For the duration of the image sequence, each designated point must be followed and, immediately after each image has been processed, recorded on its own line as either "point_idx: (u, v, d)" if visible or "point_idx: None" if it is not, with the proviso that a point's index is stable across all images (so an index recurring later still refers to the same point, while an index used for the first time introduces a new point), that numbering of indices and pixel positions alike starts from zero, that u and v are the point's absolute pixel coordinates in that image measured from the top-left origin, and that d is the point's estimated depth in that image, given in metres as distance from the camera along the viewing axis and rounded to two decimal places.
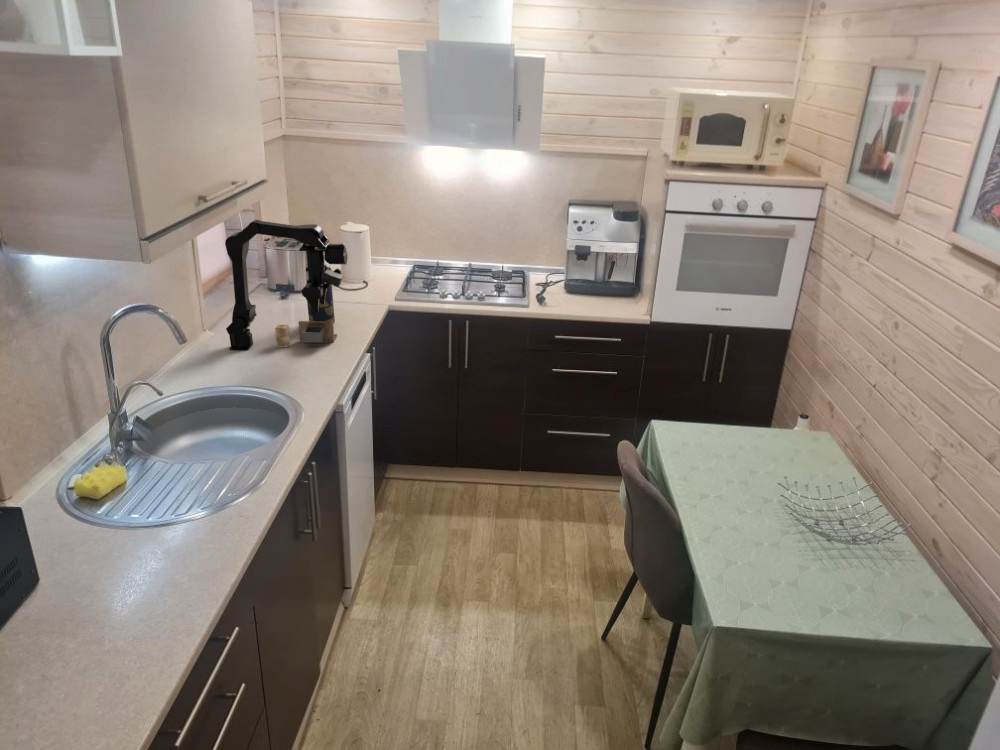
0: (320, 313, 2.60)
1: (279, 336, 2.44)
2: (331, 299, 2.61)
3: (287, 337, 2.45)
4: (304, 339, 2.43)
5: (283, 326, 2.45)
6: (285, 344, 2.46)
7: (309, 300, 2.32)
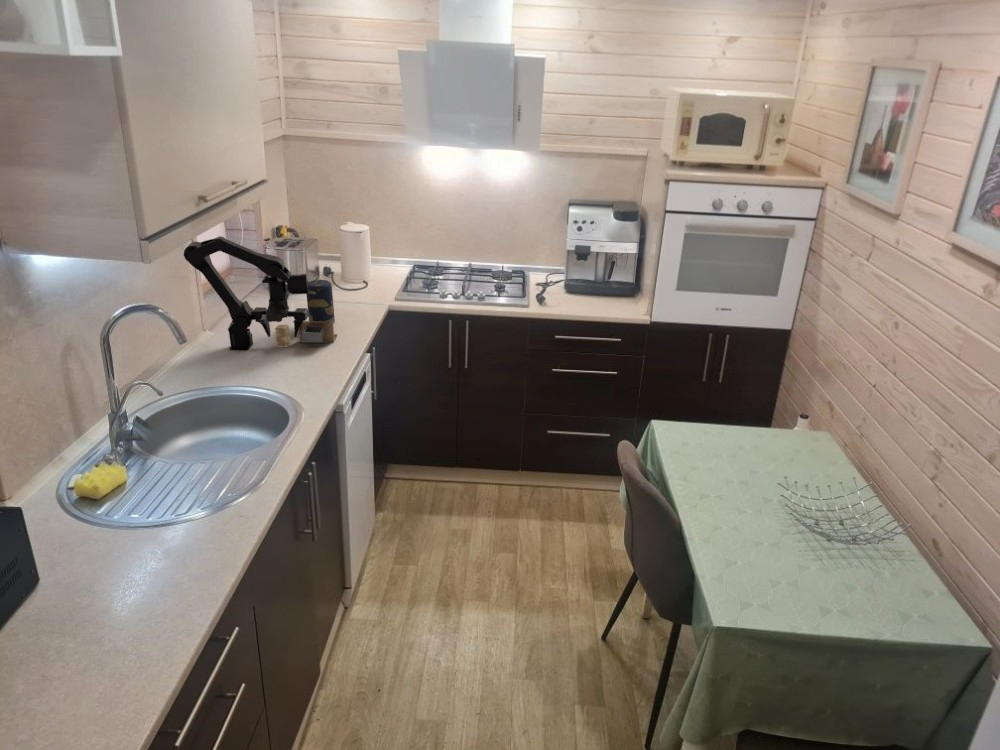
0: (320, 313, 2.60)
1: (279, 336, 2.44)
2: (331, 299, 2.61)
3: (287, 337, 2.45)
4: (304, 339, 2.43)
5: (283, 326, 2.45)
6: (285, 344, 2.46)
7: None
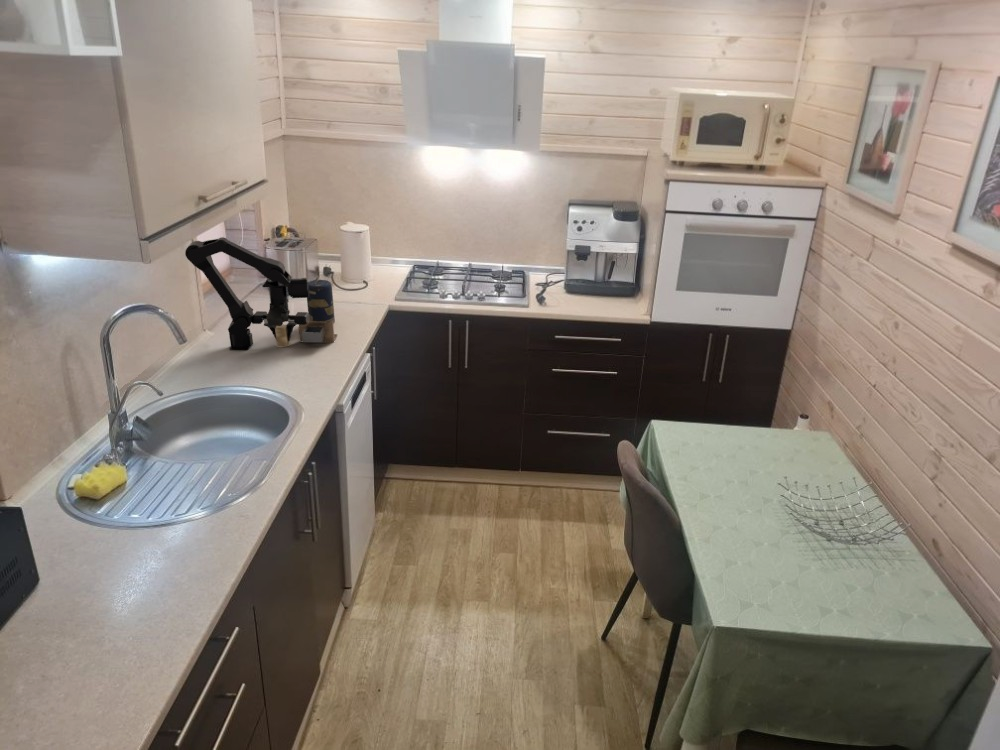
0: (320, 313, 2.60)
1: (279, 336, 2.44)
2: (331, 299, 2.61)
3: None
4: (304, 339, 2.43)
5: (283, 326, 2.45)
6: (285, 344, 2.46)
7: None
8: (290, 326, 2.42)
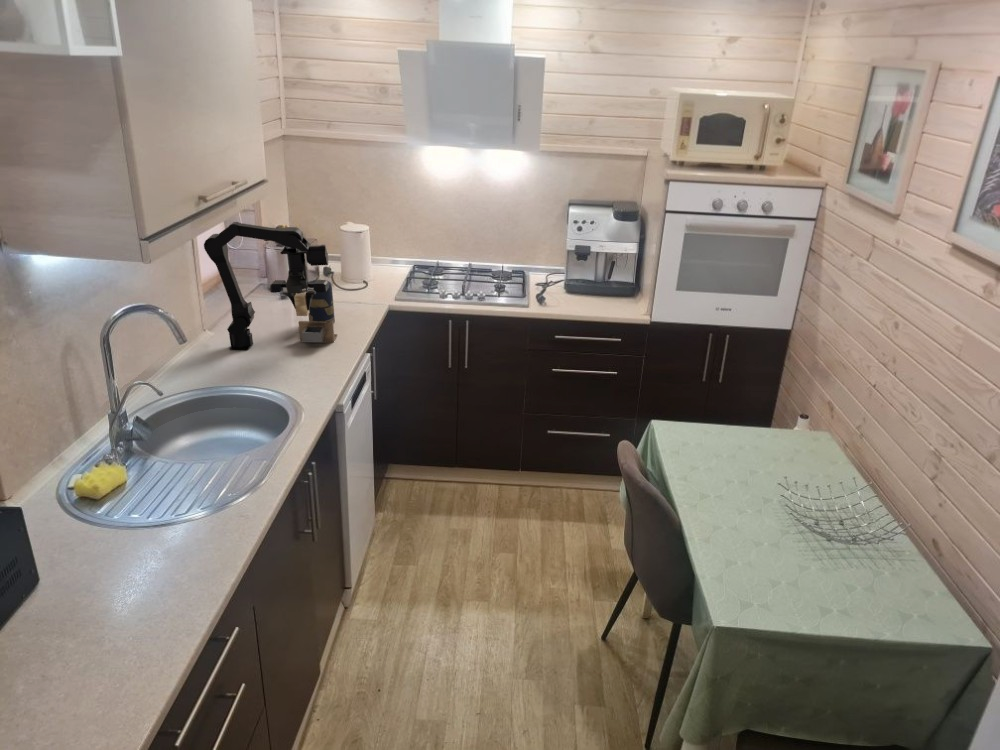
0: (320, 313, 2.60)
1: (298, 305, 2.40)
2: (331, 299, 2.61)
3: (306, 306, 2.41)
4: (304, 339, 2.43)
5: (301, 294, 2.40)
6: (304, 313, 2.41)
7: None
8: (309, 294, 2.38)
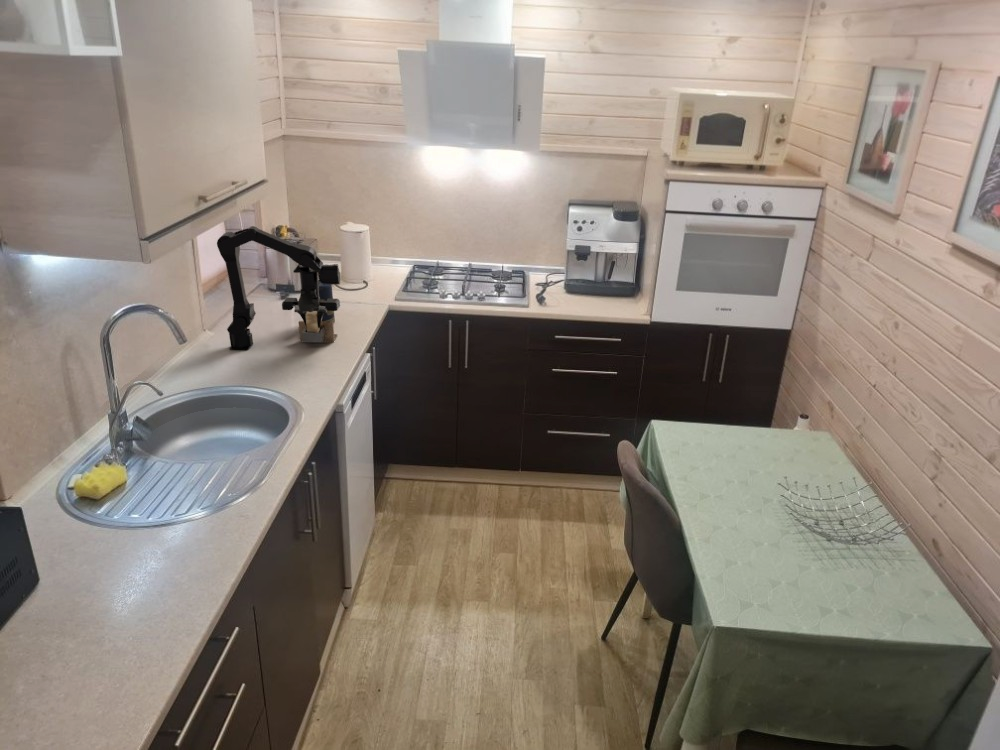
0: None
1: (309, 323, 2.42)
2: None
3: (317, 323, 2.44)
4: (304, 339, 2.43)
5: (313, 312, 2.43)
6: (315, 330, 2.44)
7: None
8: (321, 312, 2.40)
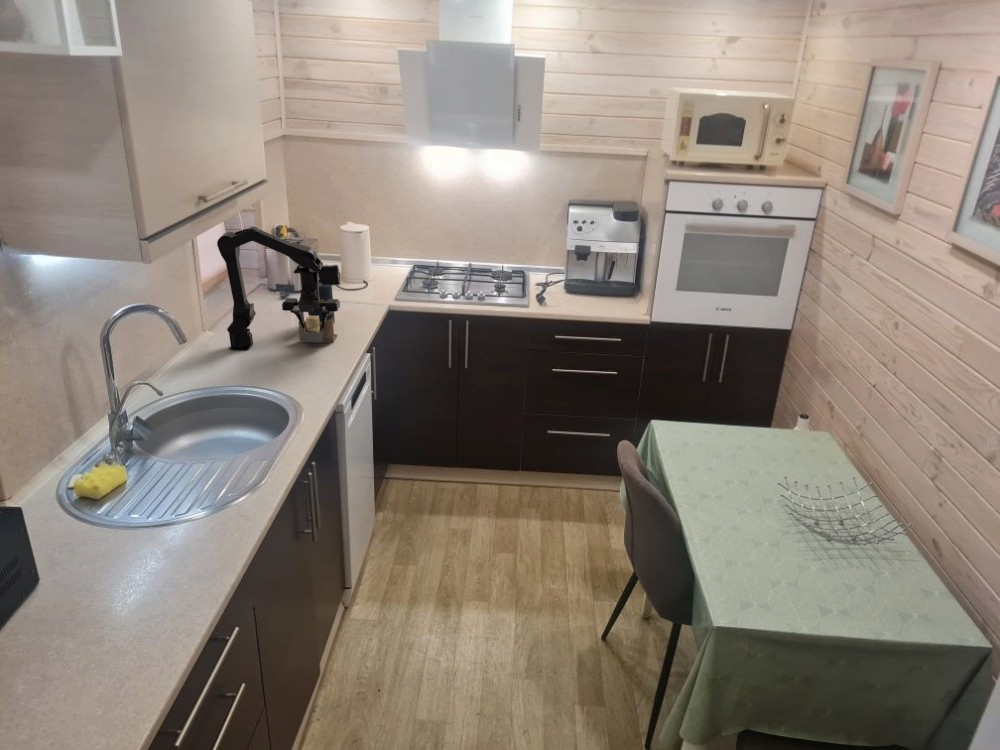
0: (320, 313, 2.60)
1: (309, 327, 2.43)
2: None
3: (317, 328, 2.44)
4: (304, 339, 2.43)
5: (313, 317, 2.44)
6: None
7: None
8: (325, 313, 2.40)
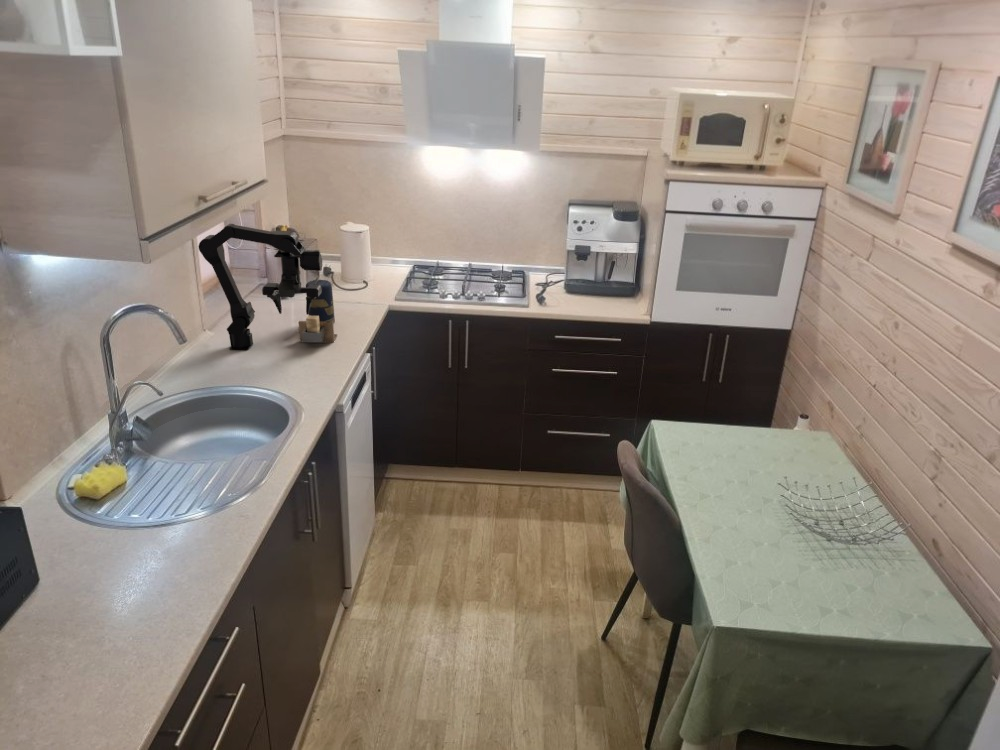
0: (320, 313, 2.60)
1: (309, 327, 2.43)
2: (331, 299, 2.61)
3: (317, 328, 2.44)
4: (304, 339, 2.43)
5: (313, 317, 2.44)
6: None
7: None
8: (309, 299, 2.37)
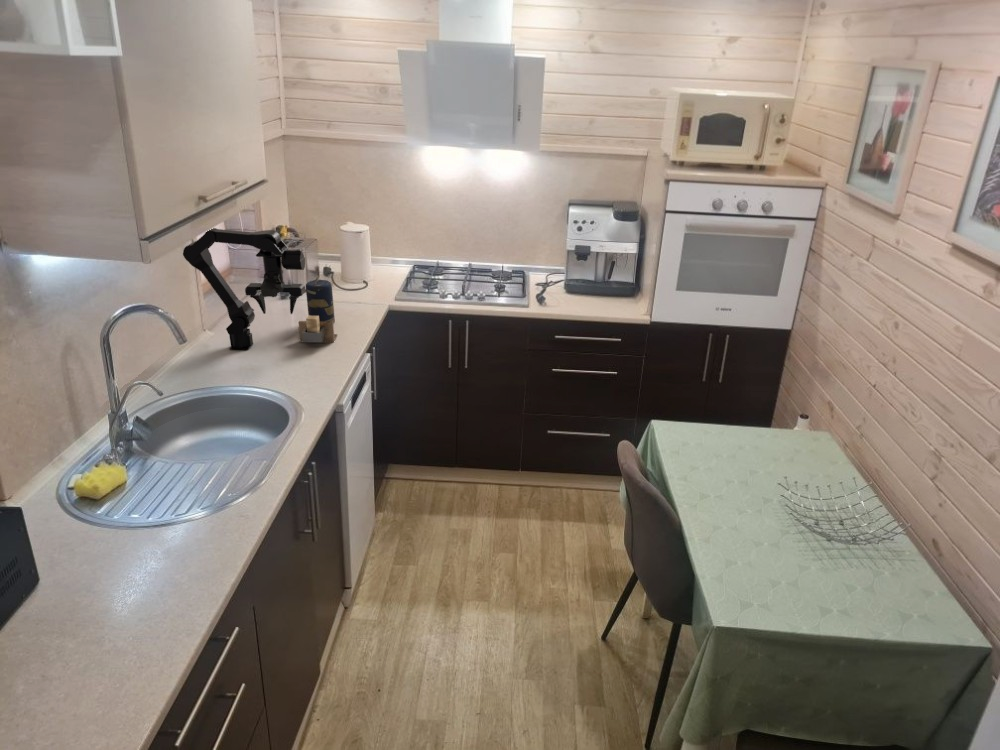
0: (320, 313, 2.60)
1: (309, 327, 2.43)
2: (331, 299, 2.61)
3: (317, 328, 2.44)
4: (304, 339, 2.43)
5: (313, 317, 2.44)
6: None
7: None
8: (293, 298, 2.35)
